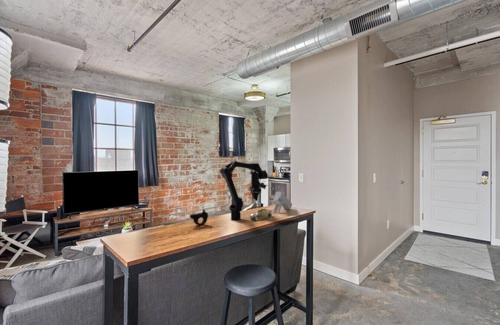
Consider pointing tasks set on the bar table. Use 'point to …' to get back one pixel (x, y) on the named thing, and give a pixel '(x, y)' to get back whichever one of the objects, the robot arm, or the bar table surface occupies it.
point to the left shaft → (254, 216)
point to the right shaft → (269, 213)
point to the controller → (199, 215)
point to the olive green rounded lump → (263, 213)
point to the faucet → (281, 202)
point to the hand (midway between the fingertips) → (255, 200)
